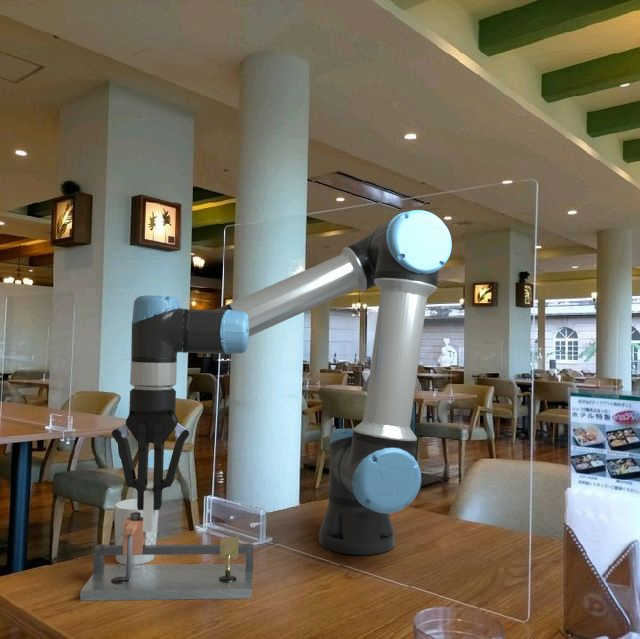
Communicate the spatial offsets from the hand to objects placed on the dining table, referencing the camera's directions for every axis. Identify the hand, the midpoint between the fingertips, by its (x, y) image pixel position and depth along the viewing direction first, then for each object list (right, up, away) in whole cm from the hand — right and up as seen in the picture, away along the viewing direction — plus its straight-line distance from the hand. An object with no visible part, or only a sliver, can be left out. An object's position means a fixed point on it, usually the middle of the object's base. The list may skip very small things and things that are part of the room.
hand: (148, 529), depth 104 cm
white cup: (-5, -9, +10) cm, 14 cm away
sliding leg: (-2, -6, -2) cm, 7 cm away
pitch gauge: (+5, -8, -2) cm, 10 cm away
